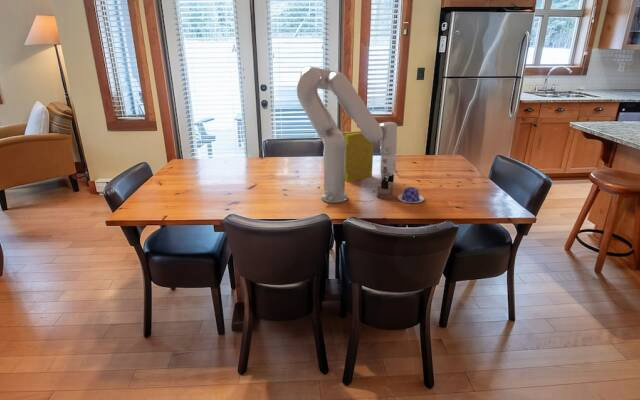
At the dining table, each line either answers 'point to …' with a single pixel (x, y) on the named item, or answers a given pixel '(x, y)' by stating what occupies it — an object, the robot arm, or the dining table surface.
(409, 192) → the pudding
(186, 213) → the dining table surface
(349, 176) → the book
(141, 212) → the dining table surface
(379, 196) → the walnut cube
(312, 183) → the dining table surface
